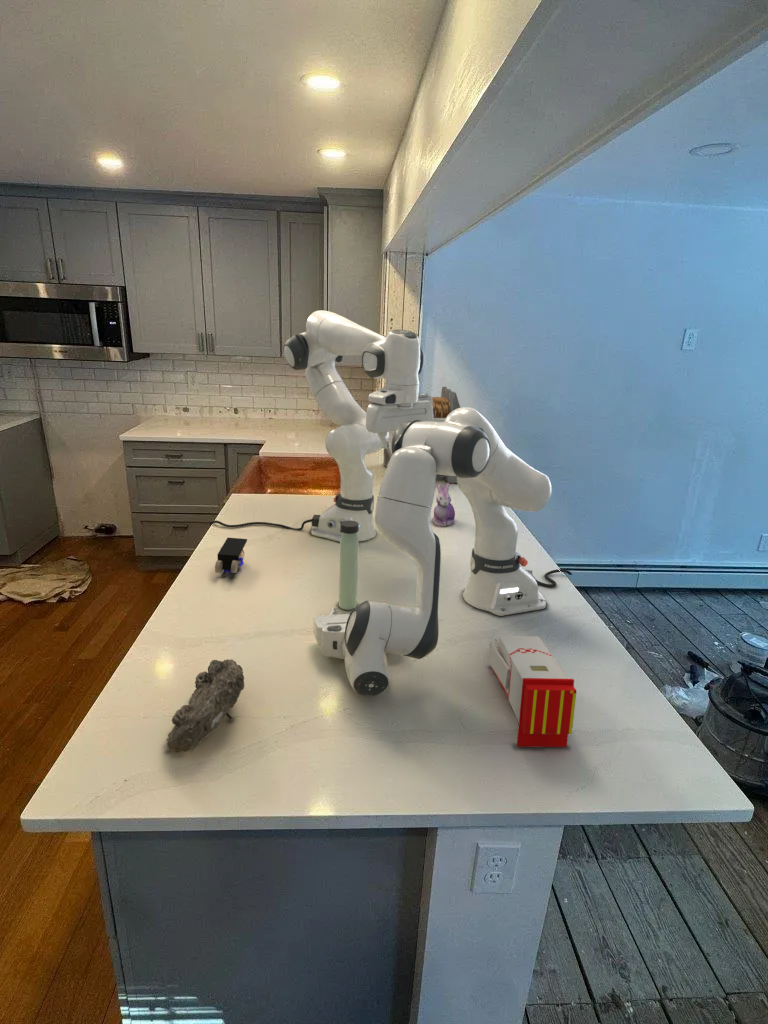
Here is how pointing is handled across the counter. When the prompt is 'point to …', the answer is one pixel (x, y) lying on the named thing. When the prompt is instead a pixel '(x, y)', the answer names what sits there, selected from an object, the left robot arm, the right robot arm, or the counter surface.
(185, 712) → the fossil
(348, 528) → the cap
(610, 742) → the counter surface
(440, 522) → the figurine
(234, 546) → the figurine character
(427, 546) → the right robot arm
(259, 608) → the counter surface
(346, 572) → the bottle
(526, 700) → the toy
